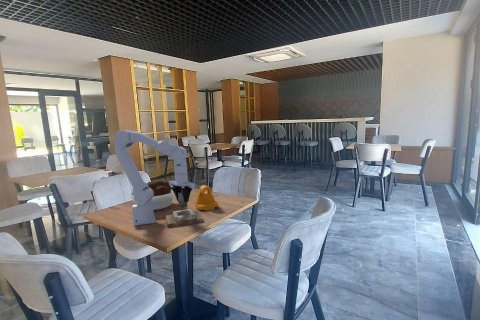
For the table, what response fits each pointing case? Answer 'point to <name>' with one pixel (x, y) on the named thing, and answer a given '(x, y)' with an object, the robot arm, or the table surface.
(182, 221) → the nut plate
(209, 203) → the bracket
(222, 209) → the table surface
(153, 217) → the robot arm
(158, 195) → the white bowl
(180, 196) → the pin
